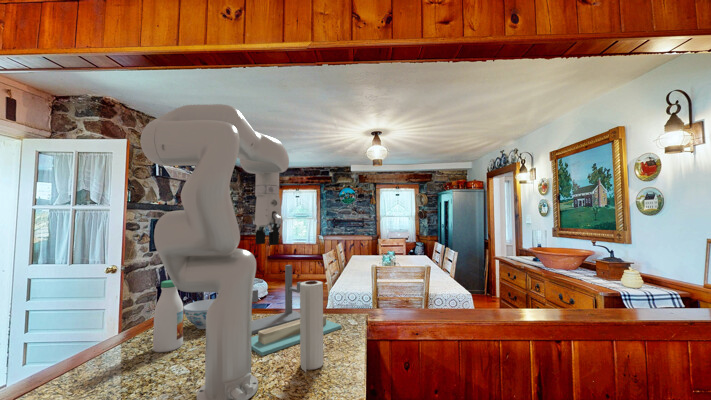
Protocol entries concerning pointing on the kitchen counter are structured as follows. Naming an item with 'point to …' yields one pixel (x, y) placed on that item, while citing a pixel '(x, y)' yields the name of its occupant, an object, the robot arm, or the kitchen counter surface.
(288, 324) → the rail
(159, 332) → the milk bottle
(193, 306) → the chinaware
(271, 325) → the rack
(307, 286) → the paper towel roll
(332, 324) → the mat
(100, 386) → the kitchen counter surface
